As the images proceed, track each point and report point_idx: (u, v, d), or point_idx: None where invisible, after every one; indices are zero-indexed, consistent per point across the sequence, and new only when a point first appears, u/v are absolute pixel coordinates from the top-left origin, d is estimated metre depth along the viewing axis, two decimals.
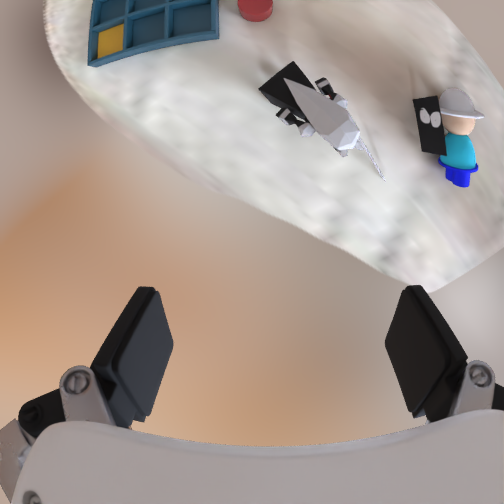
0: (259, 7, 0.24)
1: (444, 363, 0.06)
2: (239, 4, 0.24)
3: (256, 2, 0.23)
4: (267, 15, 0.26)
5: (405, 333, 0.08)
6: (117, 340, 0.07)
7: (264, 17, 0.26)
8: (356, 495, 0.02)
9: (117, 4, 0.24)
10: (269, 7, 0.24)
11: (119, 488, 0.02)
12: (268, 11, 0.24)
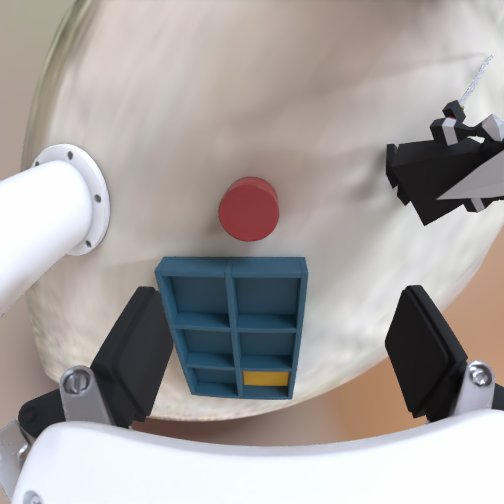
0: (262, 207, 0.20)
1: (444, 363, 0.06)
2: (253, 238, 0.21)
3: (251, 211, 0.20)
4: (270, 188, 0.21)
5: (405, 333, 0.08)
6: (117, 340, 0.07)
7: (274, 193, 0.21)
8: (356, 495, 0.02)
9: None
10: (262, 190, 0.20)
11: (119, 488, 0.02)
12: (268, 190, 0.20)
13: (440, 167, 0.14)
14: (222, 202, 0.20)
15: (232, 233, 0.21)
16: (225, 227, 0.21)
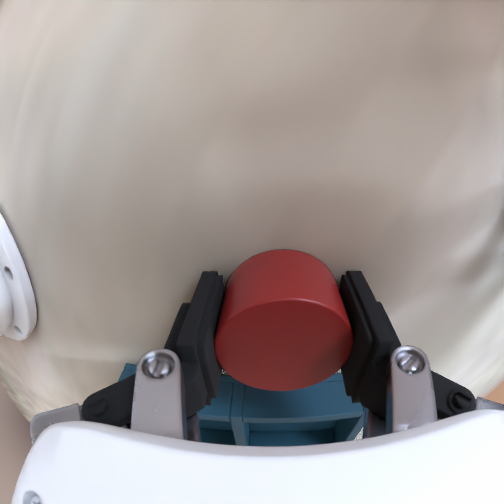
0: (318, 342, 0.08)
1: (367, 345, 0.07)
2: (289, 387, 0.09)
3: (290, 349, 0.08)
4: (332, 283, 0.09)
5: None
6: (197, 321, 0.08)
7: (338, 291, 0.09)
8: (356, 495, 0.02)
9: None
10: (323, 309, 0.07)
11: (119, 488, 0.02)
12: (335, 302, 0.08)
13: None
14: (221, 332, 0.08)
15: (245, 381, 0.09)
16: (230, 372, 0.09)
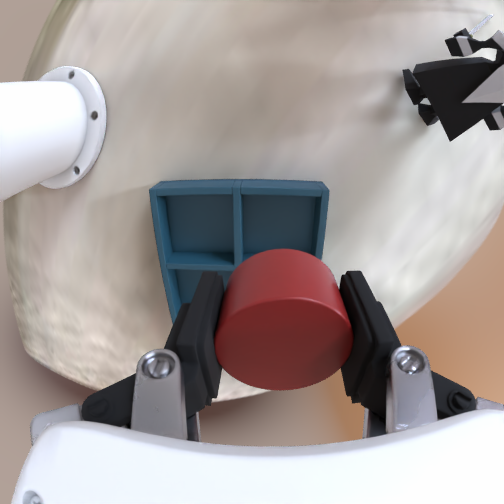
0: (318, 341, 0.08)
1: (368, 345, 0.07)
2: (290, 387, 0.09)
3: (290, 348, 0.08)
4: (332, 282, 0.09)
5: None
6: (197, 320, 0.08)
7: (338, 290, 0.09)
8: (356, 495, 0.02)
9: None
10: (323, 308, 0.07)
11: (119, 488, 0.02)
12: (335, 301, 0.08)
13: (460, 75, 0.10)
14: (221, 331, 0.08)
15: (245, 380, 0.09)
16: (230, 371, 0.09)
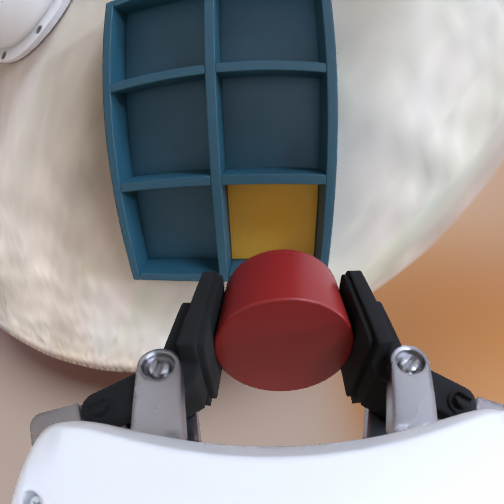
0: (318, 342, 0.08)
1: (368, 345, 0.07)
2: (290, 387, 0.09)
3: (290, 349, 0.08)
4: (332, 283, 0.09)
5: None
6: (197, 320, 0.08)
7: (339, 291, 0.09)
8: (356, 495, 0.02)
9: (162, 218, 0.19)
10: (324, 309, 0.07)
11: (119, 488, 0.02)
12: (336, 302, 0.08)
13: None
14: (221, 332, 0.08)
15: (245, 381, 0.09)
16: (230, 372, 0.09)
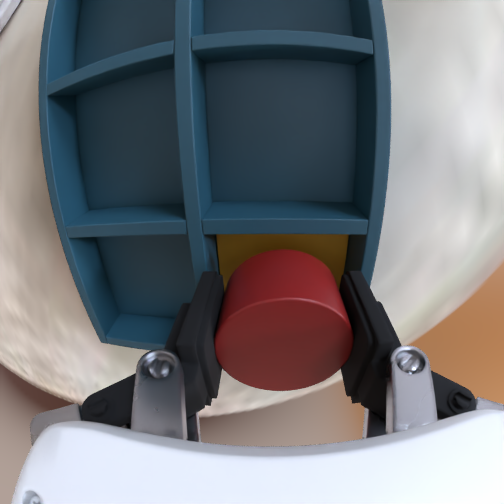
0: (318, 342, 0.08)
1: (368, 345, 0.07)
2: (290, 387, 0.09)
3: (290, 349, 0.08)
4: (332, 282, 0.09)
5: None
6: (197, 320, 0.08)
7: (338, 291, 0.09)
8: (356, 495, 0.02)
9: (130, 267, 0.13)
10: (323, 309, 0.07)
11: (119, 488, 0.02)
12: (336, 302, 0.08)
13: None
14: (221, 332, 0.08)
15: (245, 381, 0.09)
16: (230, 372, 0.09)
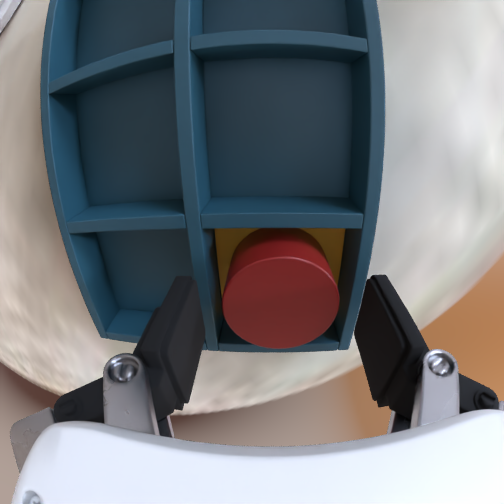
0: (309, 298, 0.10)
1: (400, 350, 0.06)
2: (286, 345, 0.11)
3: (286, 305, 0.10)
4: (320, 251, 0.11)
5: (369, 321, 0.09)
6: (164, 326, 0.07)
7: (326, 259, 0.11)
8: (356, 495, 0.02)
9: (130, 263, 0.13)
10: (312, 267, 0.09)
11: (119, 488, 0.02)
12: (322, 264, 0.10)
13: None
14: (228, 288, 0.10)
15: (248, 338, 0.11)
16: (235, 329, 0.11)
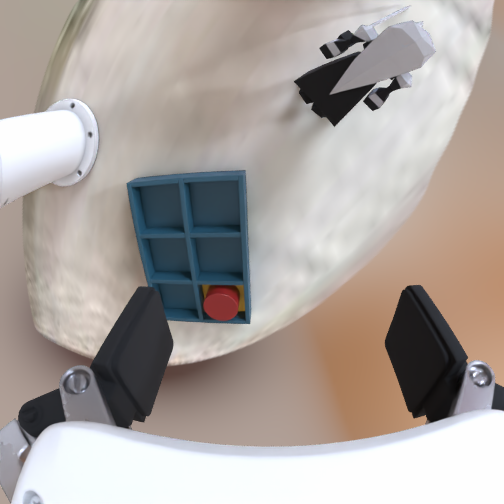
0: (228, 304, 0.34)
1: (444, 363, 0.06)
2: (224, 319, 0.36)
3: (221, 306, 0.35)
4: (234, 290, 0.35)
5: (405, 333, 0.08)
6: (117, 340, 0.07)
7: (236, 292, 0.36)
8: (356, 495, 0.02)
9: (171, 290, 0.38)
10: (227, 296, 0.34)
11: (119, 488, 0.02)
12: (231, 295, 0.34)
13: (330, 73, 0.19)
14: (205, 301, 0.34)
15: (212, 316, 0.35)
16: (207, 313, 0.35)
